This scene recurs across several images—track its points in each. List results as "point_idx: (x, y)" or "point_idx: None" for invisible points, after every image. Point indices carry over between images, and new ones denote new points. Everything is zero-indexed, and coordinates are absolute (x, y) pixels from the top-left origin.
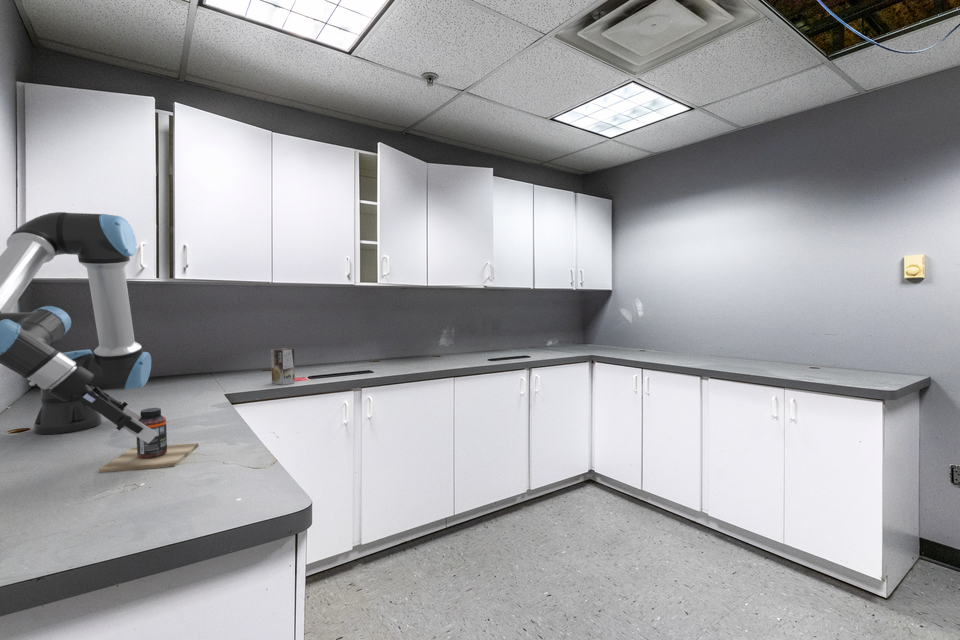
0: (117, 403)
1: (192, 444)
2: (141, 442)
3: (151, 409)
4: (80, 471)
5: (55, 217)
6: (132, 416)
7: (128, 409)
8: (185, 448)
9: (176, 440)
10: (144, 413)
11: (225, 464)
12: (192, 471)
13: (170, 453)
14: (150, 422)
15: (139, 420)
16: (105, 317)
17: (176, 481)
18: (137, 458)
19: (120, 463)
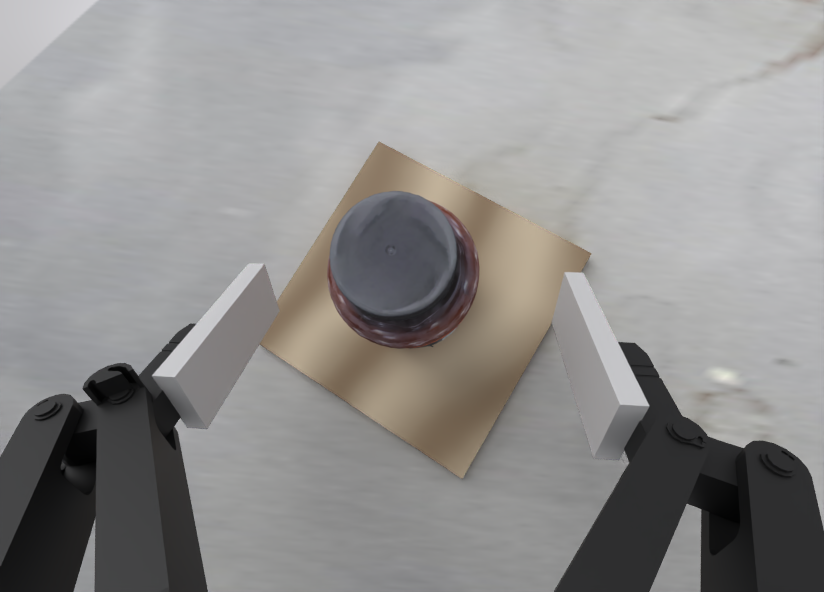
0: (156, 456)
1: (379, 160)
2: (449, 334)
3: (398, 247)
4: (394, 523)
5: None
6: (227, 343)
7: (187, 365)
8: (416, 190)
9: (233, 194)
10: (437, 300)
11: (692, 119)
12: (694, 220)
13: None
14: (475, 282)
15: (412, 331)
16: None
17: (777, 283)
18: (423, 348)
19: (445, 407)
